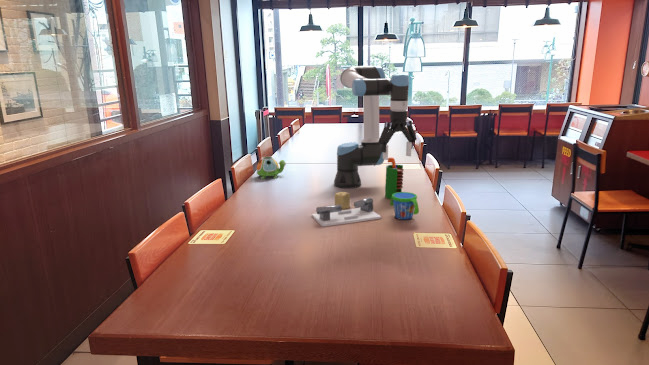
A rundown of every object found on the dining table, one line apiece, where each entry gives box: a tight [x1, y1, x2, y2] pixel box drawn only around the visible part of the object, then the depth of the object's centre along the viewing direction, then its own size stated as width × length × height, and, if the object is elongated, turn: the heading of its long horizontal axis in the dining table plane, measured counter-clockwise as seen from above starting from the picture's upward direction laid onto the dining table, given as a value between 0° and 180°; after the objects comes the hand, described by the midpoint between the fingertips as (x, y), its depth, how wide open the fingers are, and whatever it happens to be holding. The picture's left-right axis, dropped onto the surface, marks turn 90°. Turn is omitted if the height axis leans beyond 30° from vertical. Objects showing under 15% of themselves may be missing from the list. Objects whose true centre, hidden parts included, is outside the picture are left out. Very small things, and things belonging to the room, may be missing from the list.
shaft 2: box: [353, 197, 374, 212], centre depth 190 cm, size 9×5×6 cm, turn 130°
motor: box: [384, 157, 404, 200], centre depth 213 cm, size 10×9×20 cm
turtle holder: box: [256, 156, 286, 180], centre depth 257 cm, size 12×18×12 cm
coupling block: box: [334, 191, 351, 210], centre depth 198 cm, size 5×5×7 cm
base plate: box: [311, 207, 382, 228], centre depth 186 cm, size 14×27×2 cm, turn 110°
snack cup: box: [389, 191, 419, 220], centre depth 184 cm, size 16×10×10 cm
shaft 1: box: [315, 204, 342, 221], centre depth 181 cm, size 10×5×6 cm, turn 110°
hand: (397, 157), depth 192 cm, fingers open, 13 cm apart
